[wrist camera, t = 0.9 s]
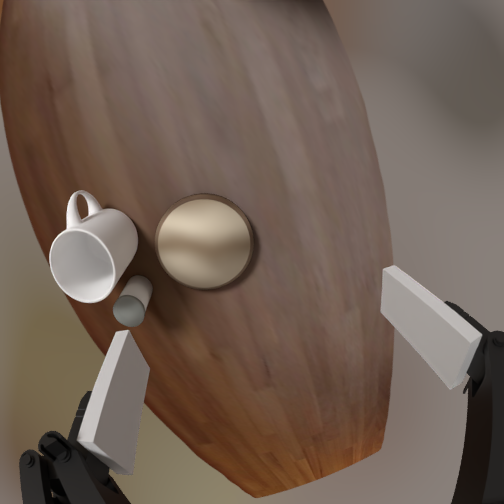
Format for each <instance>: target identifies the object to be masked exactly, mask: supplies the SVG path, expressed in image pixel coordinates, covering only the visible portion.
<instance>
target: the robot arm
mask: <svg viewBox="0 0 504 504" xmlns="http://www.w3.org/2000/svg"><path fill="white" fill-rule="evenodd" d="M381 313H382V314H383V315H384V316H385V317H386V318H387V319H388V320H389V321H390V323H391V324H392V325H393V326H394V327H395V328H396V329H397V330H398V331H399V332H400V333H401V334H402V336H403V337H405V339H406V340H407V341H408V342H409V343H410V344H411V345H412V346H413V348H414V349H415V350H416V351H417V352H418V353H419V354H420V356H421V357H422V358H423V359H424V360H425V361H426V362H427V364H428V365H429V366H430V367H431V368H432V369H433V371H434V372H435V373H436V374H437V375H438V376H439V378H440V379H441V380H442V381H443V382H444V383H445V384H446V386H447V387H448V388H449V389H450V390H451V389H453V388H455V387H456V386H457V385H459V384H460V383H462V382H463V379H464V377H465V375H466V373H467V374H468V375H469V376H470V378H469V380H468V382H467V384H466V386H465V388H464V391H463V394H465V392H466V390H467V389H468V409H467V423H466V433H465V442H464V448H463V455H462V460H461V466H460V471H459V476H458V480H457V484H456V488H455V492H454V496H453V499H452V503H451V504H504V332H502V331H493V332H489V331H488V330H487V329H486V328H484V327H483V326H482V325H481V324H480V323H478V322H477V321H476V320H475V319H474V318H472V317H471V316H469V314H467V313H466V312H464V311H463V310H462V309H461V308H460V307H459V306H457V305H456V304H453V303H451V302H448V301H446V302H442V301H441V300H440V299H439V298H437V297H436V296H435V295H434V294H432V293H431V292H430V291H428V290H427V289H426V288H424V287H423V286H422V285H420V284H419V283H418V282H416V281H415V280H414V279H413V278H411V277H410V276H409V275H407V274H406V273H404V272H403V271H402V270H400V269H399V268H398V267H396V266H395V265H393V266H390V267H387V268H384V269H383V280H382V299H381ZM149 371H150V368H149V366H148V365H147V363H146V361H145V359H144V357H143V356H142V354H141V352H140V350H139V348H138V347H137V345H136V343H135V341H134V339H133V337H132V335H131V333H130V331H129V330H125V331H119V332H116V334H115V336H114V338H113V341H112V343H111V345H110V348H109V350H108V353H107V355H106V357H105V360H104V363H103V365H102V368H101V370H100V373H99V375H98V378H97V381H96V383H95V386H94V389H93V391H88V392H87V393H86V394H85V395H84V397H83V398H82V399H81V401H80V404H79V407H78V410H77V413H76V417H75V419H74V421H73V424H72V428H71V430H70V433H69V437H68V440H66V439H65V438H64V437H63V436H62V435H61V434H60V433H58V432H56V431H49V432H47V433H45V434H44V435H43V436H42V438H41V439H40V441H39V444H38V449H39V451H40V452H41V453H42V454H43V455H44V456H41V455H40V454H38V453H37V452H36V451H34V450H27V451H25V452H24V453H23V454H22V455H21V458H20V462H19V467H20V481H21V491H22V498H23V504H131V503H130V502H129V501H128V499H127V498H126V496H125V495H124V494H123V492H122V491H121V490H120V488H119V487H118V485H117V484H116V482H115V481H114V479H113V478H112V477H111V476H110V475H109V468H110V469H111V470H113V471H114V472H115V473H117V474H123V475H133V470H134V462H135V454H136V446H137V438H138V432H139V426H140V420H141V414H142V407H143V402H144V397H145V391H146V386H147V381H148V376H149ZM51 492H53V497H52V493H51Z"/></svg>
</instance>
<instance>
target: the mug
mask: <svg viewBox="0 0 504 504" xmlns="http://www.w3.org/2000/svg"><path fill="white" fill-rule="evenodd" d="M79 194H82V195H83V196H84V197H85V198H86V200H87V203H88V209H89V215H88V216H87V217H86V218H84V219H82V220H81V218H80V216H79V213H78V210H77V205H76V199H77V196H78V195H79ZM137 246H138V234H137V230H136V228H135V226H134V224H133V222H132V221H131V219H130V218H129V217H128V216H127V215H125V214H124V213H123V212H121V211H119V210H116V209H102V208H101V206H100V205H99V203H98V202H97V200H96V199H95V198H94V197H93V196H92V195H91V194H90V193H88V192H86V191H77V192H75V193H74V194H73V195H72V196H71V198H70V200H69V203H68V207H67V229H66V230H65V231H63V232H62V233H60V234H59V235H58V236H57V237H56V239H55V240H54V242H53V244H52V246H51V250H50V257H49V259H50V267H51V271H52V274H53V276H54V278H55V280H56V282H57V284H58V285H59V286H60V288H61V289H62V290H63V291H64V292H65V293H66V294H67V295H69V296H70V297H72V298H74V299H75V300H78V301H81V302H85V303H94V302H98V301H101V300H103V299H105V298H106V297H107V296H108V295H109V294H110V293H111V291H112V290H113V288H114V287H115V285H116V283H117V282H118V280H119V279H120V277H121V276H122V274H123V272H124V271H125V269H126V268H127V266H128V265H129V263H130V262H131V260H132V259H133V257H134V255H135V253H136V251H137Z"/></svg>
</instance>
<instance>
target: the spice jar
mask: <svg viewBox="0 0 504 504" xmlns="http://www.w3.org/2000/svg"><path fill="white" fill-rule="evenodd" d="M152 291H153V287H152V284H151V282H150V281H149V280H148V279H147V278H146V277H144V276H141V275H135V276H133V277H131V278H130V279H129V281H128V282H127V284H126V286H125V288H124V289H123V291H122V293H121V295H120V297H119V298H118V299H117V300H116V302H115V304H114V306H113V313H114V316H115V318H116V319H117V320H118V321H119V322H120V323H122V324H123V325H125V326H129V327H134V326H138V325H139V324H141V323H142V321H143V319H144V316H145V311H146V308H147V305H148V302H149V300H150V297H151V294H152Z"/></svg>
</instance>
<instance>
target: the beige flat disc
mask: <svg viewBox="0 0 504 504" xmlns="http://www.w3.org/2000/svg"><path fill="white" fill-rule="evenodd" d="M253 247H254V239H253V232H252V229H251V226H250V224H249V222H248V220H247V218H246V216H245V214H244V213H243V212H242V210H241V209H240V208H239V207H238V206H237V205H235V204H234V203H233V202H231V201H230V200H228V199H226V198H224V197H222V196H219V195H215V194H208V193H201V194H194V195H190V196H187V197H185V198H182V199H181V200H179V201H177V202H176V203H175V204H173V205H172V206H171V207H170V208H169V209H168V210H167V212H166V213H165V214H164V216H163V217H162V219H161V220H160V222H159V224H158V227H157V230H156V235H155V249H156V254H157V257H158V260H159V262H160V264H161V266H162V267H163V269H164V270H165V271H166V273H167V274H168V275H169V276H170V277H171V278H173V279H174V280H175V281H177V282H178V283H180V284H182V285H184V286H187V287H190V288H194V289H201V290H209V289H215V288H219V287H222V286H225V285H227V284H229V283H231V282H232V281H234V280H235V279H236V278H238V277H239V276H240V275H241V274H242V273H243V271H244V270H245V269H246V267H247V266H248V264H249V262H250V260H251V257H252V253H253Z"/></svg>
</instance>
